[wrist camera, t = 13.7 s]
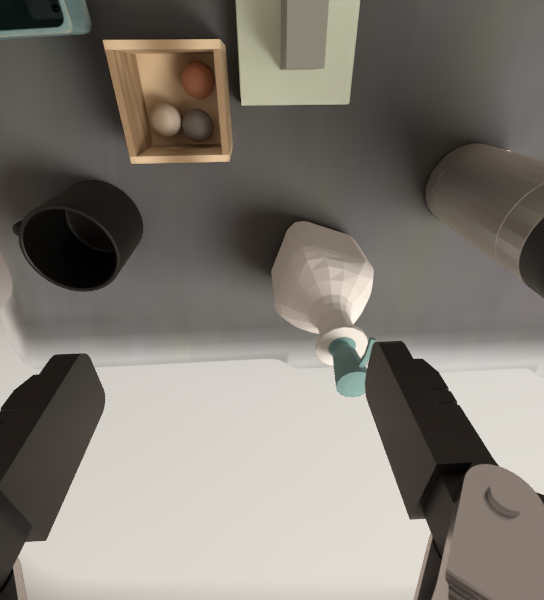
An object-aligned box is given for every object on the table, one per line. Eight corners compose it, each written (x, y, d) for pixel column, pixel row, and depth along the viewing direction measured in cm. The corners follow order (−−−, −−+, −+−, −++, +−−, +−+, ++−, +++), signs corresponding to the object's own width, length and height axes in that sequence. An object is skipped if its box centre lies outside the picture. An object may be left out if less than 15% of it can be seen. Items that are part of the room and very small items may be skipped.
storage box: (225, 46, 32) (220, 39, 26) (232, 148, 37) (229, 161, 31) (130, 46, 31) (102, 40, 26) (150, 149, 36) (131, 163, 31)
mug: (30, 169, 37) (-26, 192, 29) (143, 187, 39) (116, 214, 31) (46, 246, 42) (2, 283, 34) (145, 259, 44) (123, 297, 36)
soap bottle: (359, 233, 43) (443, 355, 24) (328, 293, 48) (378, 432, 29) (290, 211, 41) (324, 326, 22) (266, 276, 46) (276, 414, 27)
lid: (358, -41, 29) (393, -79, 22) (344, 103, 35) (367, 110, 28) (233, -42, 28) (228, -81, 21) (241, 104, 34) (238, 111, 27)
